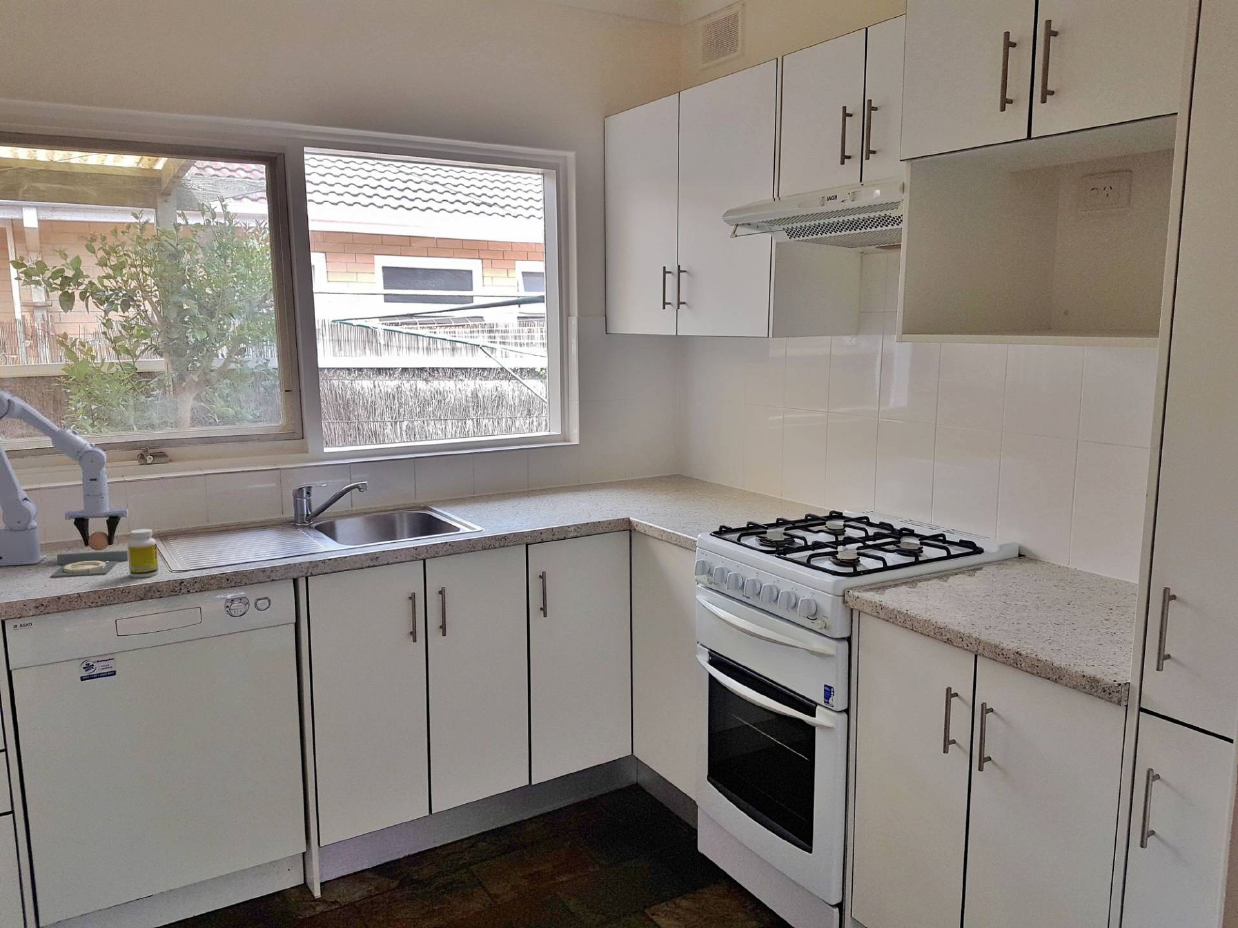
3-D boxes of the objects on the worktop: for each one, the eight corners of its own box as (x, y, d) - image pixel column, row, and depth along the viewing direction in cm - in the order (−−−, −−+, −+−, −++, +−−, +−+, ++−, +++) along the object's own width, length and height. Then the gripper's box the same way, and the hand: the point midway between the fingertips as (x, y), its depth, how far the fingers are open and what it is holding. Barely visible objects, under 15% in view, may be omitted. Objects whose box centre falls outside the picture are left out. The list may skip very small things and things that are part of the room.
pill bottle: (162, 574, 224) (159, 530, 222) (135, 579, 219) (132, 534, 218) (152, 570, 228) (149, 526, 226) (125, 575, 223) (122, 530, 222)
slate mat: (50, 577, 220) (50, 572, 220) (64, 565, 232) (64, 560, 231) (106, 574, 224) (105, 569, 224) (117, 562, 235) (117, 557, 235)
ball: (86, 552, 239) (85, 534, 238) (91, 548, 243) (90, 530, 243) (107, 551, 240) (106, 533, 239) (112, 547, 245) (111, 529, 244)
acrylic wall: (57, 564, 233) (56, 555, 232) (58, 563, 233) (58, 554, 233) (127, 560, 237) (126, 551, 237) (128, 559, 238) (127, 550, 238)
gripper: (129, 490, 245) (133, 540, 247) (68, 492, 241) (72, 543, 243) (123, 495, 239) (127, 545, 241) (60, 497, 235) (64, 549, 236)
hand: (99, 544), depth 241 cm, fingers closed on ball, 5 cm apart
